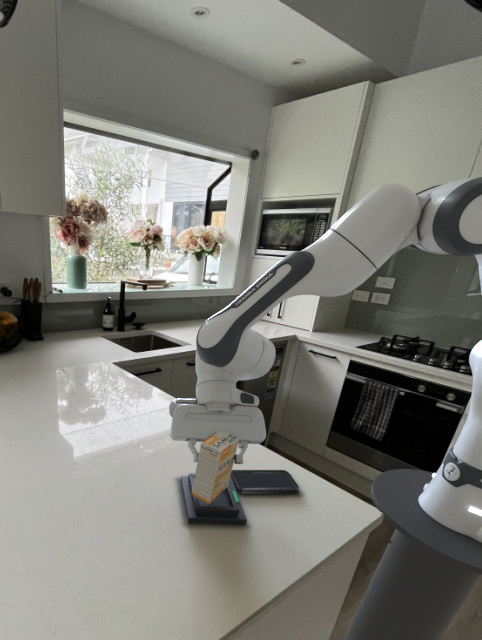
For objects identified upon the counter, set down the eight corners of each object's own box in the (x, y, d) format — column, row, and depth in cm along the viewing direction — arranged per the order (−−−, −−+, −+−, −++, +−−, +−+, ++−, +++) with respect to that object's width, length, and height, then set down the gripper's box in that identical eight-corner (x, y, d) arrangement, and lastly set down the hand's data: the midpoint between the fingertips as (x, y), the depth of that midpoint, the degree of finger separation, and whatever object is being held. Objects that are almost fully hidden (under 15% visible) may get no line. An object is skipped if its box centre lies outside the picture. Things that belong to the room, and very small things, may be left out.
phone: (301, 490, 87) (238, 490, 86) (300, 493, 88) (237, 494, 86) (286, 469, 94) (228, 469, 93) (285, 473, 95) (228, 473, 93)
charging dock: (230, 482, 90) (232, 472, 89) (245, 525, 78) (248, 514, 76) (180, 480, 89) (181, 470, 88) (187, 523, 77) (189, 512, 76)
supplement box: (210, 505, 77) (221, 452, 71) (190, 494, 80) (199, 442, 74) (228, 487, 83) (240, 436, 77) (210, 477, 85) (220, 427, 80)
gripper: (171, 392, 79) (170, 458, 75) (266, 397, 80) (271, 462, 76) (167, 402, 85) (167, 463, 81) (256, 406, 86) (260, 467, 82)
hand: (218, 462), depth 78 cm, fingers closed on supplement box, 7 cm apart
